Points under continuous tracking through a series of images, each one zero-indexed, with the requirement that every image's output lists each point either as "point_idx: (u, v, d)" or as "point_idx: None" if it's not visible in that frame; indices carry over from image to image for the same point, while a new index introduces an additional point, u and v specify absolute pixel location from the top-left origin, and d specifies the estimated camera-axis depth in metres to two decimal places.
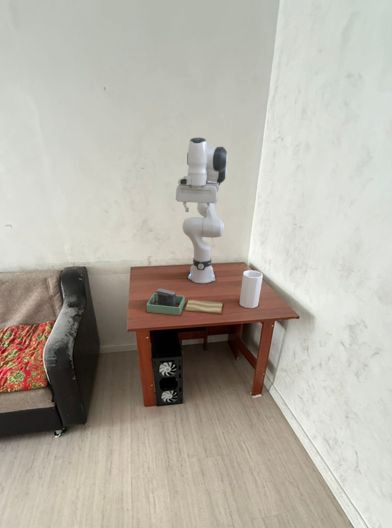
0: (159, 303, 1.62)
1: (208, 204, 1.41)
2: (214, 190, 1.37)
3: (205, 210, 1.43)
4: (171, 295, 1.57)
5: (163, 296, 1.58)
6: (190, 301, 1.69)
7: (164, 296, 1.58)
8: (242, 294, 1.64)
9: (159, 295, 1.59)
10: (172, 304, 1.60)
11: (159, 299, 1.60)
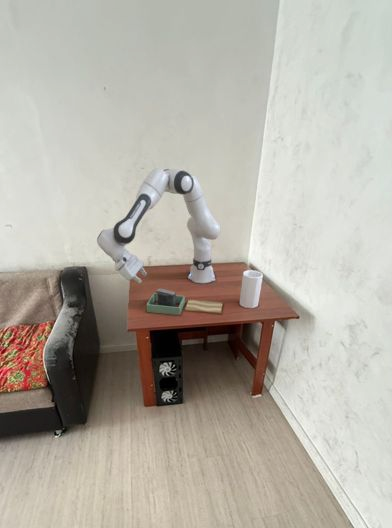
0: (159, 303, 1.62)
1: (142, 267, 1.59)
2: (136, 256, 1.59)
3: (145, 272, 1.59)
4: (171, 295, 1.57)
5: (163, 296, 1.58)
6: (190, 301, 1.69)
7: (164, 296, 1.58)
8: (242, 294, 1.64)
9: (159, 295, 1.59)
10: (172, 304, 1.60)
11: (159, 299, 1.60)
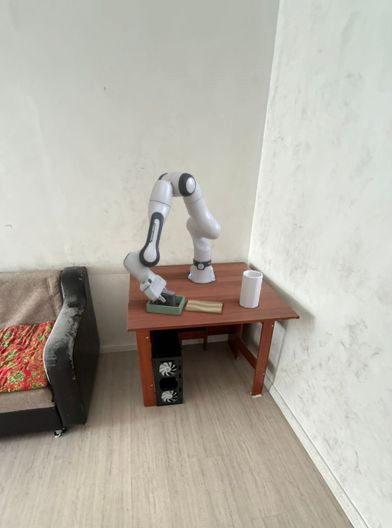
0: (159, 303, 1.62)
1: (165, 287, 1.64)
2: (159, 276, 1.64)
3: None
4: (171, 295, 1.57)
5: (163, 296, 1.58)
6: (190, 301, 1.69)
7: (164, 296, 1.58)
8: (242, 294, 1.64)
9: None
10: (172, 304, 1.60)
11: None
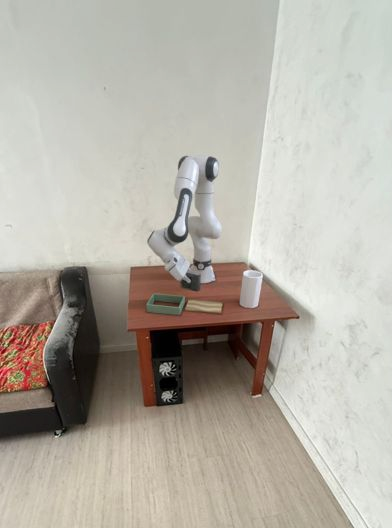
0: (183, 284, 1.56)
1: (189, 268, 1.58)
2: None
3: None
4: (196, 275, 1.51)
5: (188, 277, 1.52)
6: (190, 301, 1.69)
7: (189, 277, 1.52)
8: (242, 294, 1.64)
9: None
10: (197, 285, 1.54)
11: (183, 280, 1.54)
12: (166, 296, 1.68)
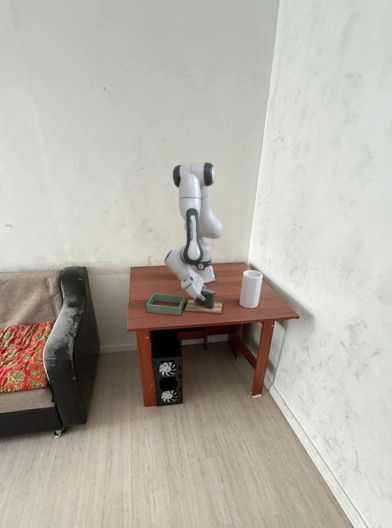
0: (197, 302, 1.63)
1: (203, 285, 1.64)
2: (197, 274, 1.64)
3: None
4: (211, 294, 1.57)
5: (202, 295, 1.59)
6: (190, 301, 1.69)
7: (204, 295, 1.58)
8: (242, 294, 1.64)
9: None
10: (211, 303, 1.60)
11: (198, 298, 1.61)
12: (166, 296, 1.68)
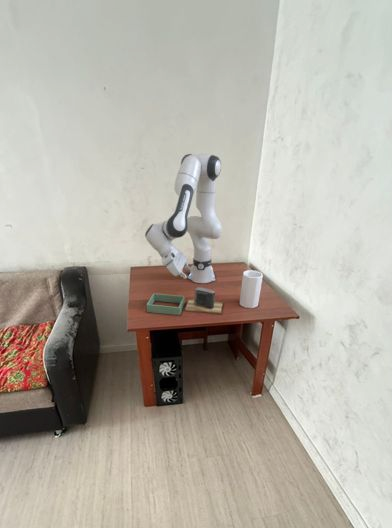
0: (197, 302, 1.63)
1: None
2: (180, 251, 1.58)
3: (188, 267, 1.59)
4: (211, 294, 1.57)
5: (202, 295, 1.59)
6: (190, 301, 1.69)
7: (204, 295, 1.58)
8: (242, 294, 1.64)
9: (198, 294, 1.59)
10: (211, 303, 1.60)
11: (198, 298, 1.61)
12: (166, 296, 1.68)
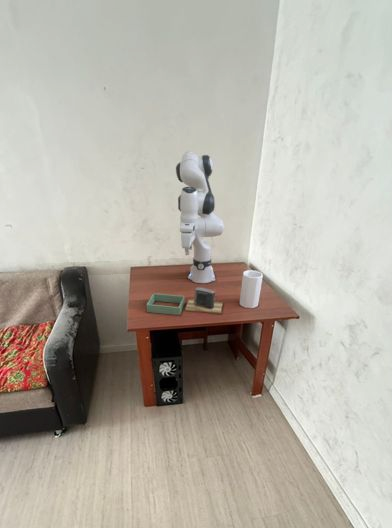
0: (197, 302, 1.63)
1: (192, 241, 1.56)
2: None
3: None
4: (211, 294, 1.57)
5: (202, 295, 1.59)
6: (190, 301, 1.69)
7: (204, 295, 1.58)
8: (242, 294, 1.64)
9: (198, 294, 1.59)
10: (211, 303, 1.60)
11: (198, 298, 1.61)
12: (166, 296, 1.68)
